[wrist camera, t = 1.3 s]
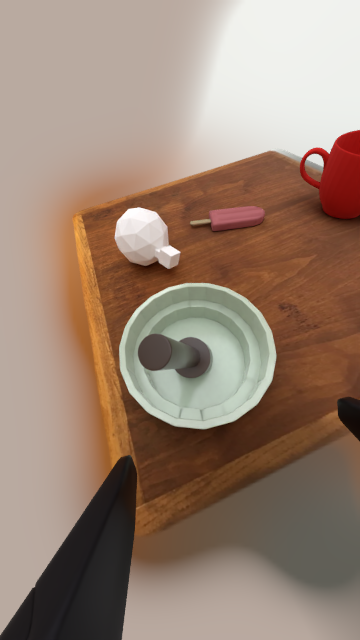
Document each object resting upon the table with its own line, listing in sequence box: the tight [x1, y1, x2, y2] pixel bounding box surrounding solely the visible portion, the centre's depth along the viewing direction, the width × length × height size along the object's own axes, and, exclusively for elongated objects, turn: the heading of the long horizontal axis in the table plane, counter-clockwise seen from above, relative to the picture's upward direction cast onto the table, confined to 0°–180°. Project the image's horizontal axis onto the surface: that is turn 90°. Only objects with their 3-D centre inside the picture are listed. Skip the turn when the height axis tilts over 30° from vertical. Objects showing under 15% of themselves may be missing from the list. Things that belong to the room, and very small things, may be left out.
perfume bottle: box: [115, 208, 181, 269], centre depth 30 cm, size 9×9×12 cm
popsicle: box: [190, 206, 265, 231], centre depth 37 cm, size 5×2×15 cm
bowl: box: [119, 283, 276, 429], centre depth 20 cm, size 15×15×6 cm
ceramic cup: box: [300, 130, 360, 219], centre depth 32 cm, size 13×17×10 cm
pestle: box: [138, 333, 213, 378], centre depth 16 cm, size 4×4×12 cm
